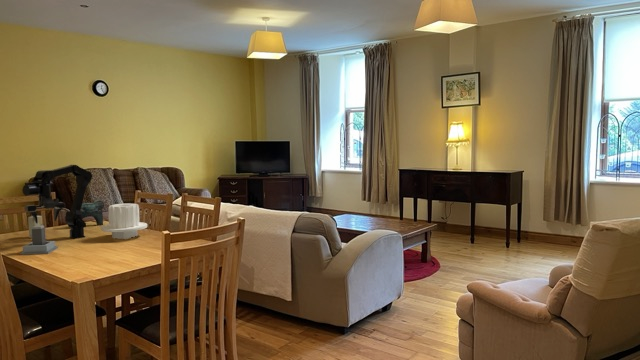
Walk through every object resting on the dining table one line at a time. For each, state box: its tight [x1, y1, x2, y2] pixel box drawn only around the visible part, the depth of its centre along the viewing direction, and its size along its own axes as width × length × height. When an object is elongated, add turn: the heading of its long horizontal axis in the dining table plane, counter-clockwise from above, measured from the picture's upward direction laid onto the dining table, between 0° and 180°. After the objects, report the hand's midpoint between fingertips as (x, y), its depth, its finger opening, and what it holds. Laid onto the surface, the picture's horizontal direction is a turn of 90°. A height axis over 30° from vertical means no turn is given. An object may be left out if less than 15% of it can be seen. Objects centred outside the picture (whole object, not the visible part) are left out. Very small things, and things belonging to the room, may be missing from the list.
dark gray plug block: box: [31, 224, 47, 245], centre depth 243 cm, size 4×4×12 cm
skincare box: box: [27, 215, 43, 239], centre depth 279 cm, size 6×4×12 cm
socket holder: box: [19, 240, 59, 256], centre depth 243 cm, size 13×13×4 cm
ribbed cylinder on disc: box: [100, 202, 148, 240], centre depth 277 cm, size 25×25×19 cm
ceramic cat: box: [81, 195, 105, 227], centre depth 311 cm, size 20×6×20 cm, turn 135°
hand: (46, 222), depth 260 cm, fingers open, 9 cm apart
